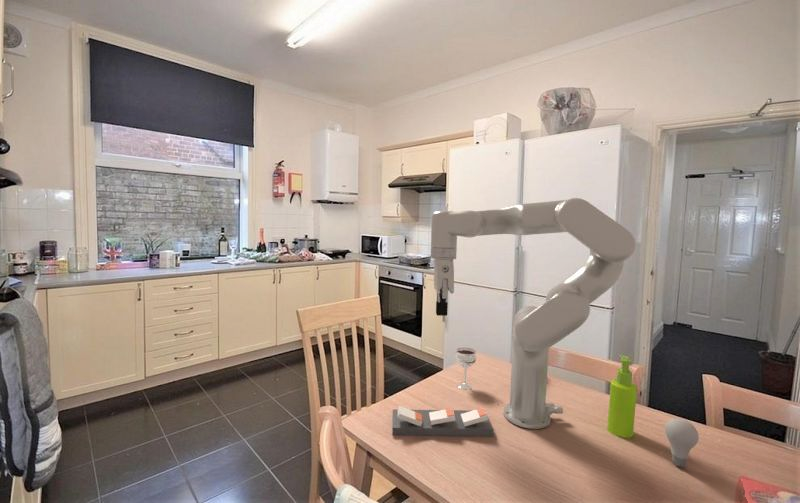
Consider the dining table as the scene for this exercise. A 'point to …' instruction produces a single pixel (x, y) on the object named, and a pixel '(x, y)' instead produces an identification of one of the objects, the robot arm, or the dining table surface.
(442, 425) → the strip
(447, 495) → the dining table surface
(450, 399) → the dining table surface
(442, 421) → the rocker middle
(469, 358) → the wineglass
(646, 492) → the dining table surface
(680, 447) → the lightbulb
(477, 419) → the rocker
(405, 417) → the block
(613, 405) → the soap dispenser
